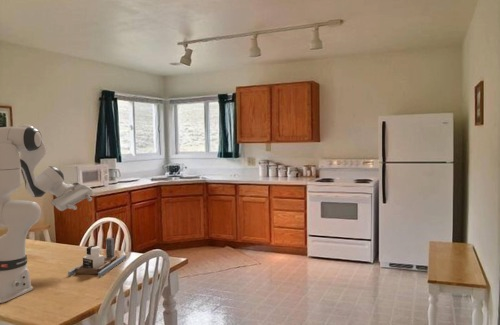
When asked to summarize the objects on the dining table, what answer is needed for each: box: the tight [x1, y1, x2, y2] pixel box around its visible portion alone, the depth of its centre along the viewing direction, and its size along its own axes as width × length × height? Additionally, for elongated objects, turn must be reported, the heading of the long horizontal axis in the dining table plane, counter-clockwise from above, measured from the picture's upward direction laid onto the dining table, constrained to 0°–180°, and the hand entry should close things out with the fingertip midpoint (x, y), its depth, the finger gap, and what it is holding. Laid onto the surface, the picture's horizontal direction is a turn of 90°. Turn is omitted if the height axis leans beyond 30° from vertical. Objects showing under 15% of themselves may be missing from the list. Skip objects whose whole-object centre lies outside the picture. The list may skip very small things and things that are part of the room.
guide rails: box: [67, 253, 127, 278], centre depth 200 cm, size 29×16×2 cm, turn 174°
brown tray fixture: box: [74, 237, 118, 275], centre depth 201 cm, size 26×12×11 cm, turn 174°
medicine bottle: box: [82, 245, 105, 268], centre depth 194 cm, size 7×7×12 cm
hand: (83, 204), depth 207 cm, fingers open, 8 cm apart
